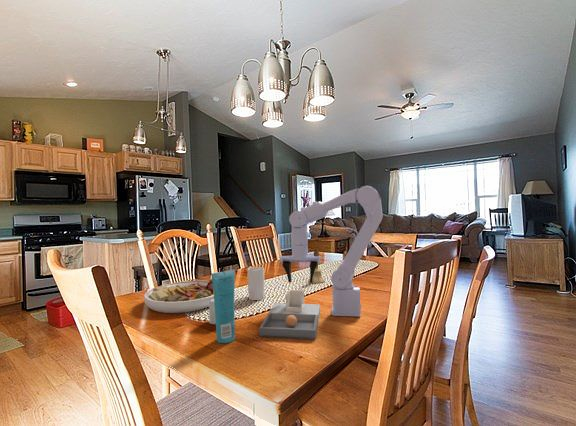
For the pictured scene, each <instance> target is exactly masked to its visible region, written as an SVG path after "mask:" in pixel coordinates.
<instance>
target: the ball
mask: <svg viewBox="0 0 576 426" xmlns="http://www.w3.org/2000/svg"><path fill="white" fill-rule="evenodd" d="M296 323H297V319H296V317H295V316H294V315H289V316H288V317H287V318H286V324H287V325H288V326H289V327H293V326H295V325H296Z"/></svg>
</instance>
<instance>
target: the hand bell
mask: <svg viewBox="0 0 576 426" xmlns="http://www.w3.org/2000/svg"><path fill="white" fill-rule="evenodd" d="M313 256H320V253H319V250H318V248H316V247H315V248H314V251H313ZM307 282H309V283H310V278H309V279H307ZM322 282H323V283H325V282H326V280H325V278H324V277H323V274H322V271H321V269H320V268H319V263H317V266H316V268H315V271H314V274H313V280H312V283H311V284H320V283H321V284H322Z"/></svg>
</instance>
